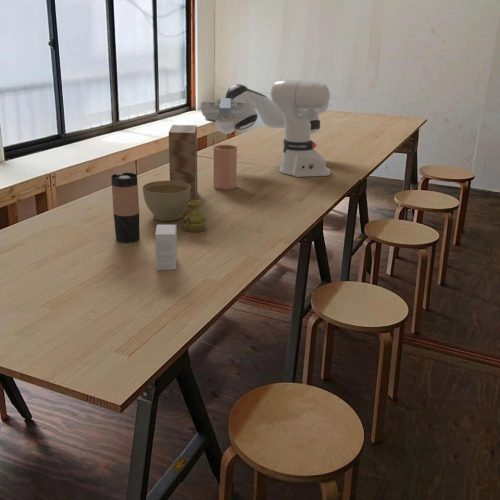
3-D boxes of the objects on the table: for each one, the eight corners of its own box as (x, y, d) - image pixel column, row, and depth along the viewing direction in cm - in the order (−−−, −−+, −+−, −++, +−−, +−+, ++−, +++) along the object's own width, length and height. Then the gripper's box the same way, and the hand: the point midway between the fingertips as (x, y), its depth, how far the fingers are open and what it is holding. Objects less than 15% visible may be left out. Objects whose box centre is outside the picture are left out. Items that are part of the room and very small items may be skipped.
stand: (197, 192, 228) (196, 125, 219) (195, 203, 215) (194, 132, 206) (174, 192, 228) (172, 124, 218) (170, 203, 215) (168, 132, 205)
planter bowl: (198, 213, 206) (198, 183, 202) (178, 227, 192) (178, 195, 188) (157, 207, 211) (156, 177, 207) (134, 221, 197) (133, 189, 192)
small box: (157, 258, 168) (156, 224, 164) (177, 258, 168) (176, 223, 164) (155, 270, 161) (154, 234, 157) (176, 270, 161) (175, 234, 157)
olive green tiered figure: (197, 234, 187) (197, 204, 183) (178, 229, 190) (178, 199, 187) (210, 227, 193) (210, 198, 189) (192, 223, 196) (192, 194, 192)
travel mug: (134, 244, 177) (131, 180, 170) (111, 242, 179) (106, 178, 171) (144, 235, 184) (141, 173, 177) (121, 233, 186) (117, 171, 178)
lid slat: (220, 104, 237) (220, 98, 236) (230, 104, 237) (230, 98, 236) (219, 114, 214) (219, 107, 213) (230, 115, 214) (230, 108, 214)
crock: (236, 183, 241) (236, 145, 235) (236, 190, 233) (236, 150, 227) (214, 183, 241) (214, 144, 235) (213, 189, 233) (213, 149, 227)
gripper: (250, 121, 247) (251, 109, 233) (201, 120, 246) (200, 108, 233) (250, 107, 248) (252, 94, 234) (202, 106, 247) (200, 92, 233)
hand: (225, 101), depth 233 cm, fingers closed on lid slat, 4 cm apart
